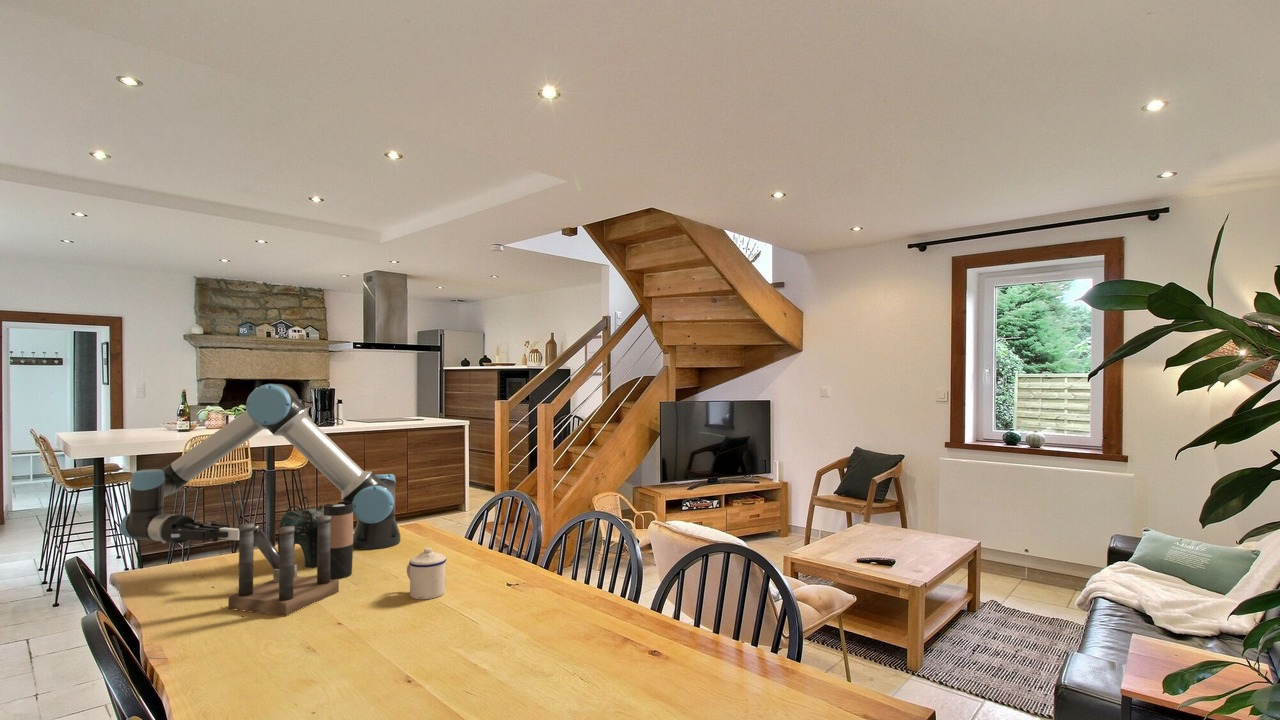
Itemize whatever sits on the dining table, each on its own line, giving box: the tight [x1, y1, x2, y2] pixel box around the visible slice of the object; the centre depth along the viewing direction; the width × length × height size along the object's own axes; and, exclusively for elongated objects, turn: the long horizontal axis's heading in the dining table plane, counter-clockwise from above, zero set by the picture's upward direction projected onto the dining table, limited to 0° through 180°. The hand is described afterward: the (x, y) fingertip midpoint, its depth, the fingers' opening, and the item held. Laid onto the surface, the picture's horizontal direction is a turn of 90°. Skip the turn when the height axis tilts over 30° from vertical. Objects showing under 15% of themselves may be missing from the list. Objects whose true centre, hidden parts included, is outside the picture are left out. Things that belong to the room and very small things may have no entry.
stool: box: [227, 516, 340, 617], centre depth 158 cm, size 17×17×20 cm
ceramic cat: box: [277, 496, 324, 569], centre depth 190 cm, size 20×6×20 cm, turn 58°
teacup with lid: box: [406, 547, 447, 600], centre depth 163 cm, size 12×9×12 cm
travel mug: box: [323, 501, 354, 580], centre depth 178 cm, size 8×8×20 cm
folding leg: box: [254, 524, 279, 571], centre depth 167 cm, size 3×3×15 cm
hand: (240, 534), depth 171 cm, fingers closed
